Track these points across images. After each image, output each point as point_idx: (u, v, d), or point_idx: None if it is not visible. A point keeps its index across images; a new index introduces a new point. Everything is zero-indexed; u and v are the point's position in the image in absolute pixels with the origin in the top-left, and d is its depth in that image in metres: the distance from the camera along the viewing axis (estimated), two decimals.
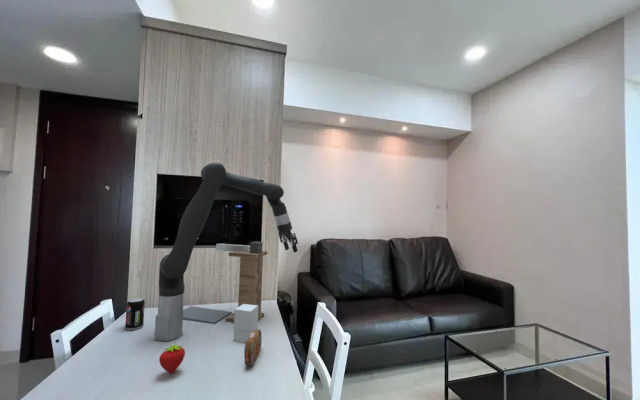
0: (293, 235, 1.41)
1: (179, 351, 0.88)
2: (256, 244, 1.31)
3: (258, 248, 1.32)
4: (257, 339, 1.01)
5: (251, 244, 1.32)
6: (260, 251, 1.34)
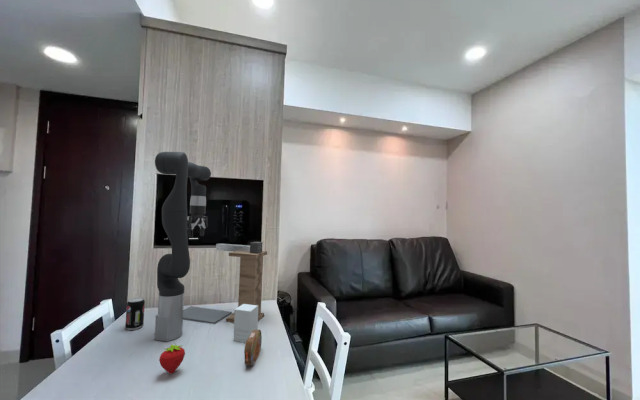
0: None
1: (179, 351, 0.88)
2: (256, 244, 1.31)
3: (258, 248, 1.32)
4: (257, 339, 1.01)
5: (251, 244, 1.32)
6: (260, 251, 1.34)
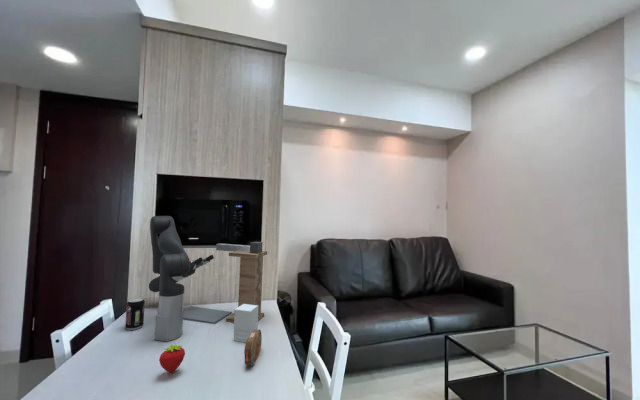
0: None
1: (179, 351, 0.88)
2: (256, 244, 1.31)
3: (258, 248, 1.32)
4: (257, 339, 1.01)
5: (251, 244, 1.32)
6: (260, 251, 1.34)
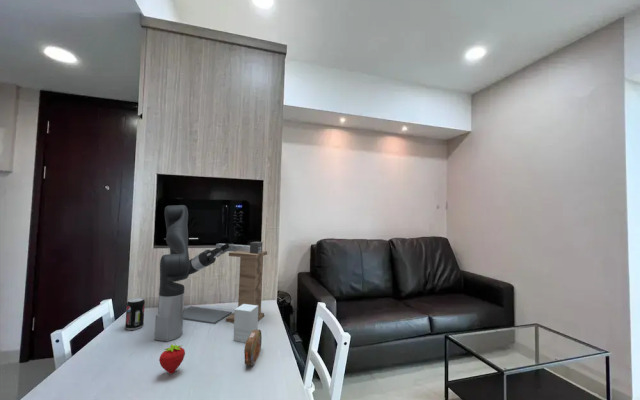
0: None
1: (179, 351, 0.88)
2: (256, 244, 1.31)
3: (258, 248, 1.32)
4: (257, 339, 1.01)
5: (251, 244, 1.32)
6: (260, 251, 1.34)
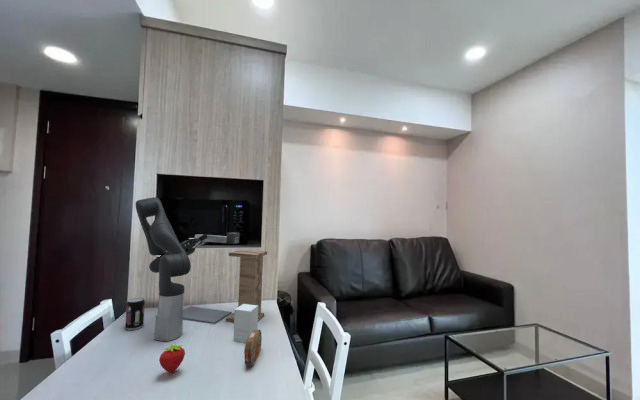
0: None
1: (179, 351, 0.88)
2: (232, 234, 1.34)
3: (234, 238, 1.35)
4: (257, 339, 1.01)
5: (228, 234, 1.35)
6: (236, 242, 1.37)
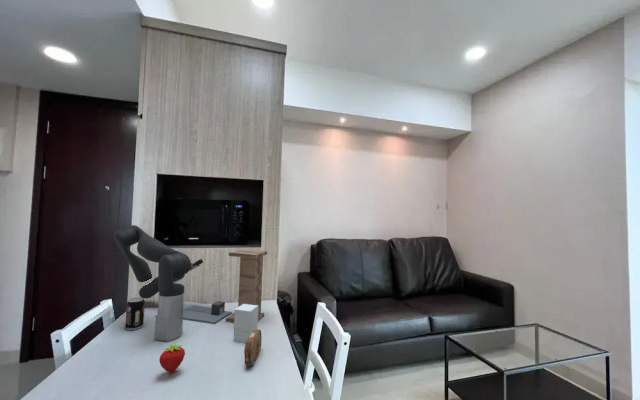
0: None
1: (179, 351, 0.88)
2: (217, 306, 1.34)
3: (219, 309, 1.35)
4: (257, 339, 1.01)
5: (212, 306, 1.35)
6: (221, 312, 1.37)
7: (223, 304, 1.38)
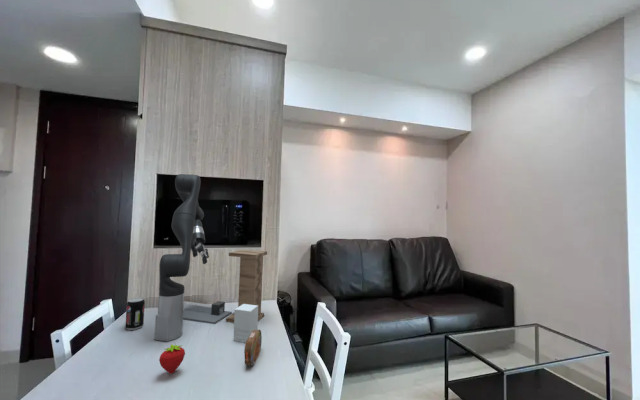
0: None
1: (179, 351, 0.88)
2: (217, 306, 1.34)
3: (219, 309, 1.35)
4: (257, 339, 1.01)
5: (212, 306, 1.35)
6: (221, 312, 1.37)
7: (223, 304, 1.38)
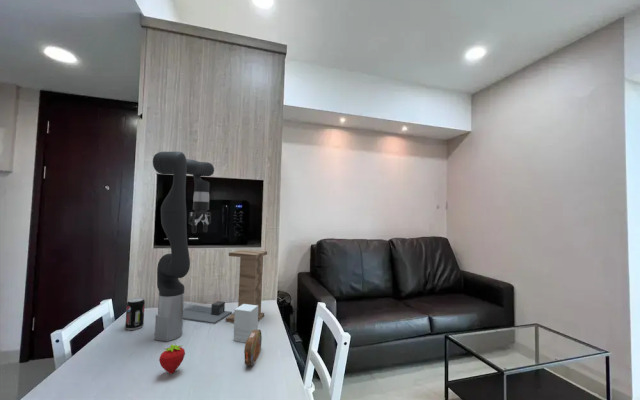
0: None
1: (179, 351, 0.88)
2: (217, 306, 1.34)
3: (219, 309, 1.35)
4: (257, 339, 1.01)
5: (212, 306, 1.35)
6: (221, 312, 1.37)
7: (223, 304, 1.38)
